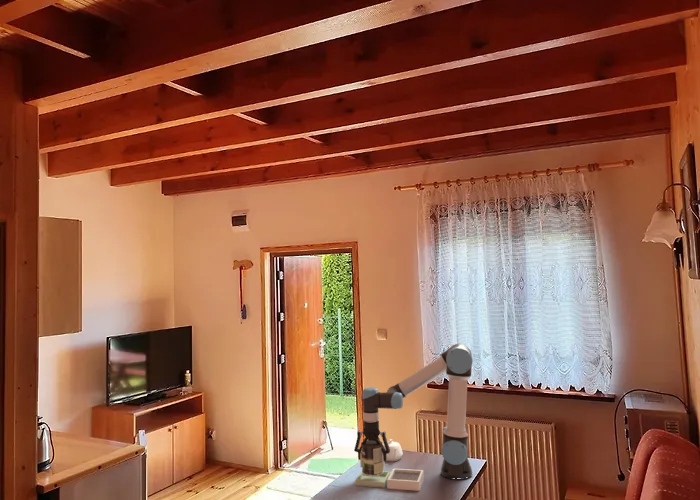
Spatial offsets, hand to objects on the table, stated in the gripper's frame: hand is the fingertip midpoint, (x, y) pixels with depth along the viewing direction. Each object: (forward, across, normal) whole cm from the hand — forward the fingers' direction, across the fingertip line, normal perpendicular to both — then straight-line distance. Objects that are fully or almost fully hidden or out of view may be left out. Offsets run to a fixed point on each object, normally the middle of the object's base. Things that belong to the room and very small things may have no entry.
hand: (372, 466), depth 256 cm
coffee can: (+3, 0, 0) cm, 3 cm away
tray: (+7, 0, 0) cm, 7 cm away
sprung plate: (+5, -16, 0) cm, 17 cm away
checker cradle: (+7, -16, 0) cm, 17 cm away
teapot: (+7, -3, -33) cm, 34 cm away
